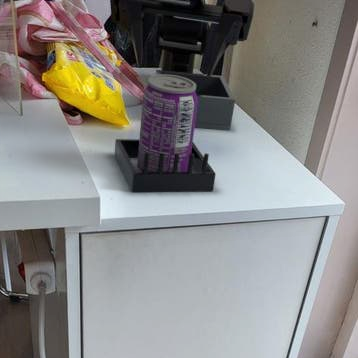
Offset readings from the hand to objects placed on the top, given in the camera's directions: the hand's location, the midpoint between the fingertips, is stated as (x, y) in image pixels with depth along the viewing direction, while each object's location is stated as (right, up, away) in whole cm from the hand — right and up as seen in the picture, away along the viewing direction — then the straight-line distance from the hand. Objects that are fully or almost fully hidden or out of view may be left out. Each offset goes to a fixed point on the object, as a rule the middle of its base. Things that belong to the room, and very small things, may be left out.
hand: (174, 71), depth 86 cm
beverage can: (-2, -12, +4) cm, 13 cm away
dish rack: (-2, -12, +4) cm, 13 cm away
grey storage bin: (+3, +4, +23) cm, 23 cm away
